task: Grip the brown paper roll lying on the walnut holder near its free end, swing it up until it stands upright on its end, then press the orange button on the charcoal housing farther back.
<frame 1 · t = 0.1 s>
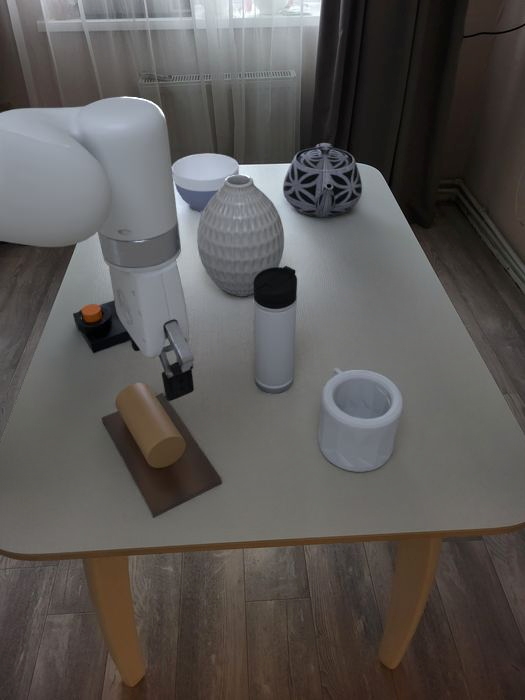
hand: (162, 369, 65), 19 cm above the table, tool pointing down, fingers open, 9 cm apart
paper roll: (149, 423, 79), point 4 cm above the table, hinge at 0.0°
travel mug: (274, 380, 91), on the table
button box: (111, 328, 101), on the table
button: (92, 313, 97), point 4 cm above the table, slide at 0.1 cm
bowl: (208, 204, 139), on the table
holder: (158, 451, 80), on the table
teapot: (321, 207, 137), on the table
vase: (242, 287, 111), on the table
mug: (350, 437, 82), on the table
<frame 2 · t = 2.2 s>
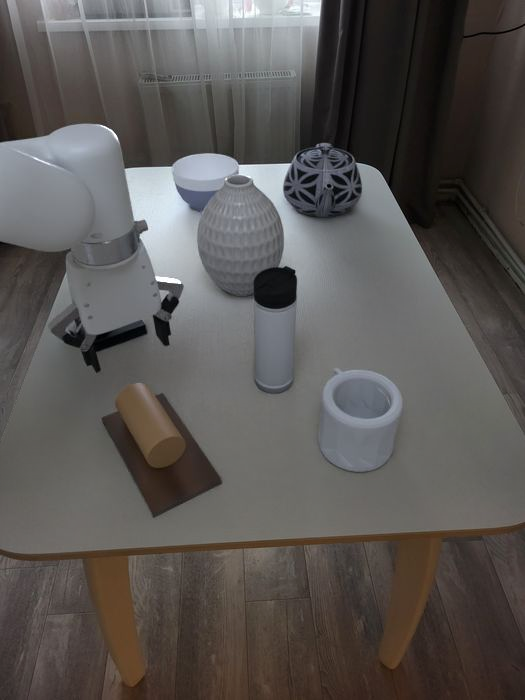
hand: (129, 353, 75), 14 cm above the table, tool pointing down, fingers open, 9 cm apart
nothing on the table moved.
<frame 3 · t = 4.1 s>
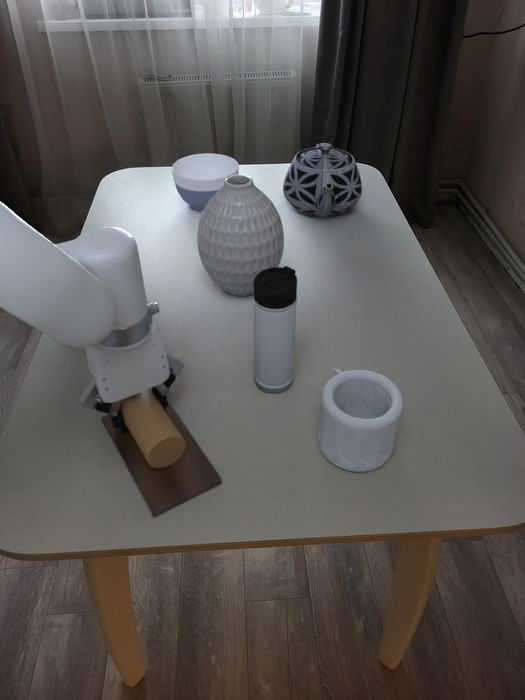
hand: (141, 417, 83), 1 cm above the table, tool pointing down, fingers closed on paper roll, 5 cm apart
paper roll: (149, 423, 79), point 4 cm above the table, hinge at 0.0°, touching gripper, holder
everything else where it was.
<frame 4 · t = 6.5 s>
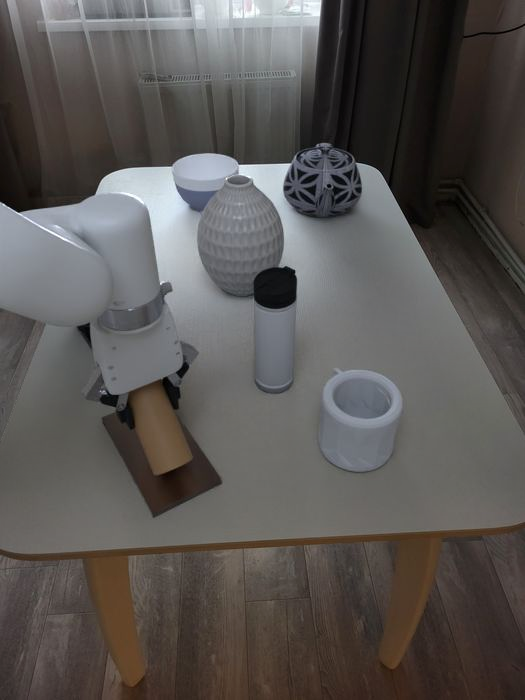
hand: (150, 411, 75), 8 cm above the table, tool pointing down, fingers closed on paper roll, 5 cm apart
paper roll: (156, 424, 74), point 7 cm above the table, hinge at 44.4°, touching gripper
everything else where it was.
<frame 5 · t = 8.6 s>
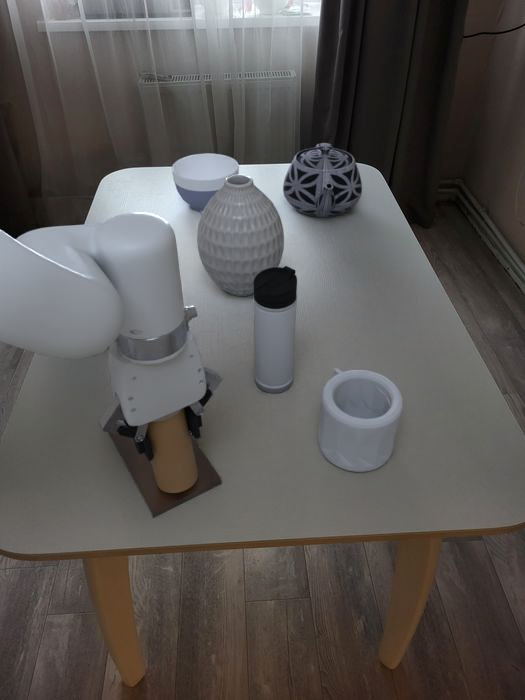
hand: (170, 441, 70), 9 cm above the table, tool pointing down, fingers closed on paper roll, 5 cm apart
paper roll: (169, 443, 71), point 7 cm above the table, hinge at 80.2°, touching gripper
everything else where it was.
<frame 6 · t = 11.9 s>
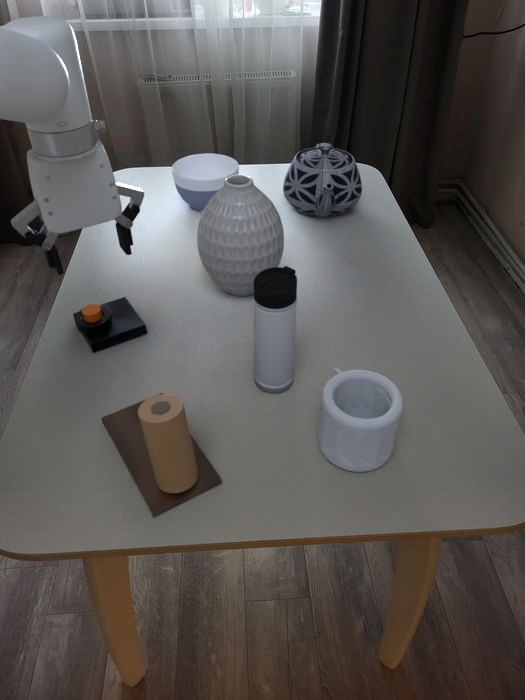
hand: (93, 260, 78), 22 cm above the table, tool pointing down, fingers open, 9 cm apart
paper roll: (169, 444, 71), point 7 cm above the table, hinge at 80.7°
everything else where it was.
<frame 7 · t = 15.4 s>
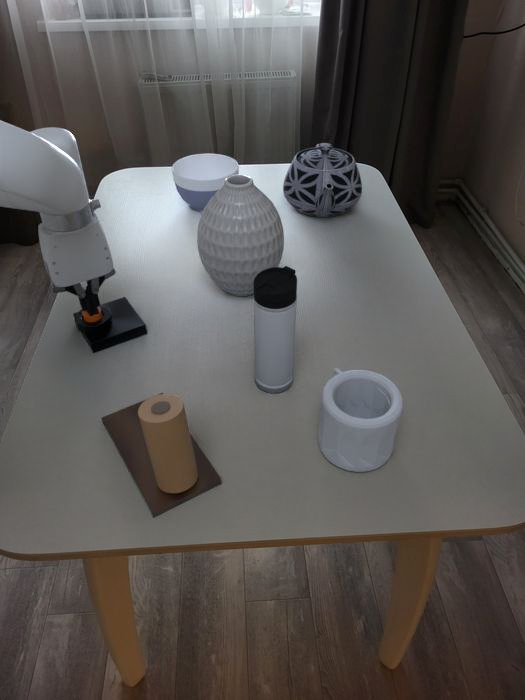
hand: (91, 310, 97), 5 cm above the table, tool pointing down, fingers closed
button: (92, 315, 97), point 4 cm above the table, slide at -0.3 cm, touching gripper
everything else where it was.
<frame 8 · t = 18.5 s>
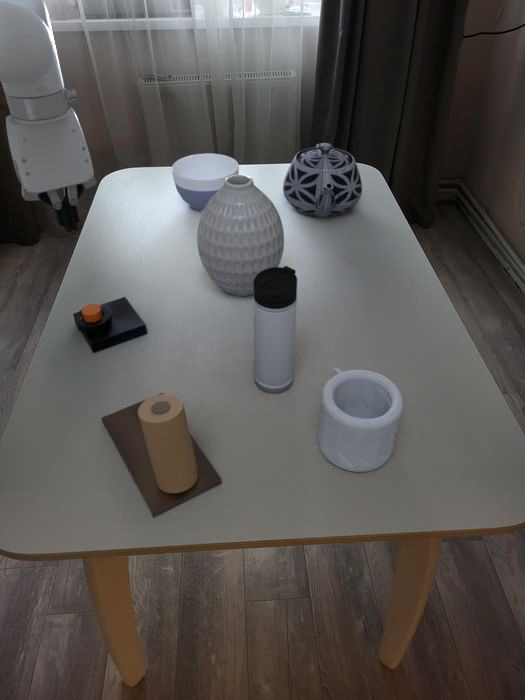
hand: (70, 227, 86), 21 cm above the table, tool pointing down, fingers closed
button: (92, 313, 97), point 4 cm above the table, slide at 0.1 cm
everything else where it was.
at the end: paper roll at +81° (first picture: +0°); button pushed in 1.1 cm at the most during the clip, back to where it started at the end; button slide at 0.1 cm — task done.
